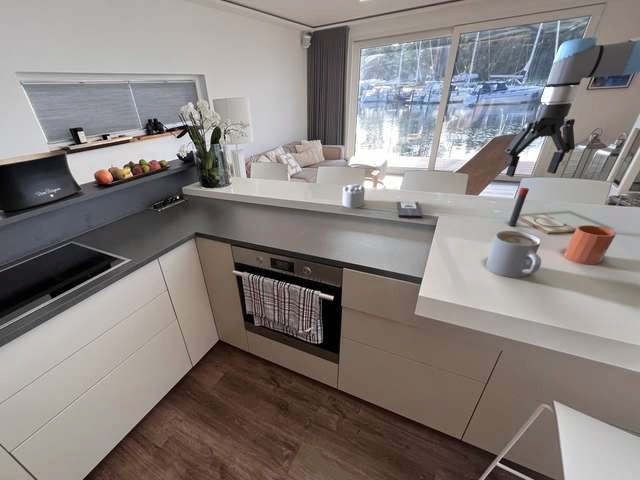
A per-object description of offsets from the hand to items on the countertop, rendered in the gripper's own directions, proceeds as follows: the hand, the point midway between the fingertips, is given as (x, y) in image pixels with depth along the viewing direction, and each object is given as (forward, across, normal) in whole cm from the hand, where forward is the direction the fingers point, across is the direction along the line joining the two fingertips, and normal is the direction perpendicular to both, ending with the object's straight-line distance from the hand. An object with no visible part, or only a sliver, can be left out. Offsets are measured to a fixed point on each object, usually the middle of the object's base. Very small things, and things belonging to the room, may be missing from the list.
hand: (530, 174), depth 97 cm
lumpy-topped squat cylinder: (+20, +51, -40) cm, 67 cm away
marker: (+19, -1, -1) cm, 19 cm away
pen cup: (+19, -4, +25) cm, 32 cm away
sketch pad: (+19, -17, 0) cm, 26 cm away
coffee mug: (+20, +20, +30) cm, 41 cm away
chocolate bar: (+20, +29, -24) cm, 43 cm away
